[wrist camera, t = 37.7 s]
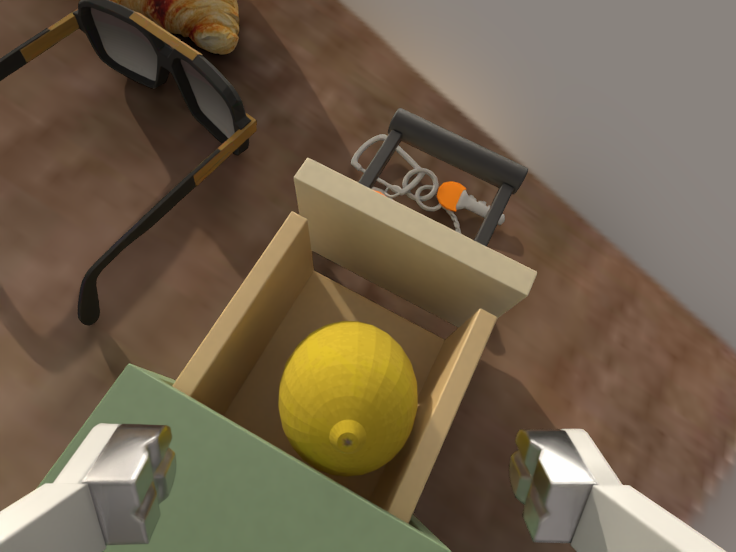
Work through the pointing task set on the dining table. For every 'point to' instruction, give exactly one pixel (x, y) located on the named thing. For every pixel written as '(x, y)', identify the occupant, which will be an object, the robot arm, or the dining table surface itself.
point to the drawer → (367, 301)
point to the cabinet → (242, 485)
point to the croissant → (194, 20)
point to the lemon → (348, 398)
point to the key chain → (447, 194)
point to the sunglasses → (151, 68)
